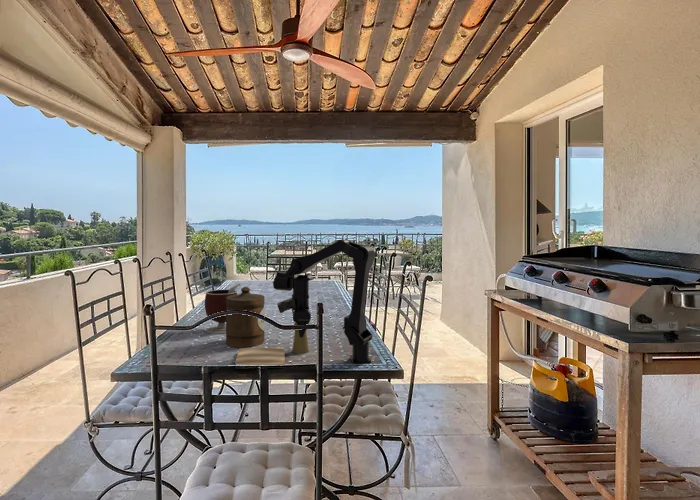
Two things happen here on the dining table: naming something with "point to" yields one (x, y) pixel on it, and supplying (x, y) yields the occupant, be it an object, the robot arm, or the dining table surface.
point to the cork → (300, 343)
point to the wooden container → (245, 320)
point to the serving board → (261, 356)
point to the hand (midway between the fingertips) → (300, 333)
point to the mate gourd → (218, 307)
